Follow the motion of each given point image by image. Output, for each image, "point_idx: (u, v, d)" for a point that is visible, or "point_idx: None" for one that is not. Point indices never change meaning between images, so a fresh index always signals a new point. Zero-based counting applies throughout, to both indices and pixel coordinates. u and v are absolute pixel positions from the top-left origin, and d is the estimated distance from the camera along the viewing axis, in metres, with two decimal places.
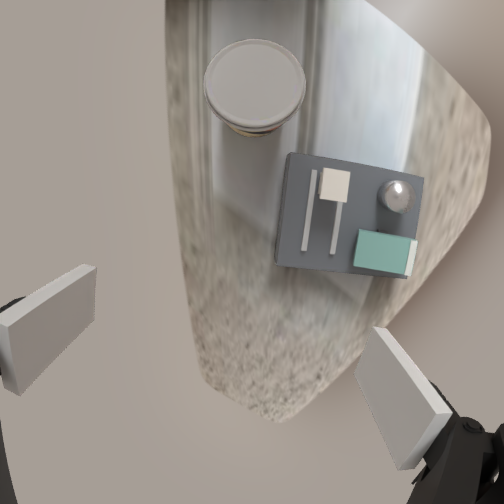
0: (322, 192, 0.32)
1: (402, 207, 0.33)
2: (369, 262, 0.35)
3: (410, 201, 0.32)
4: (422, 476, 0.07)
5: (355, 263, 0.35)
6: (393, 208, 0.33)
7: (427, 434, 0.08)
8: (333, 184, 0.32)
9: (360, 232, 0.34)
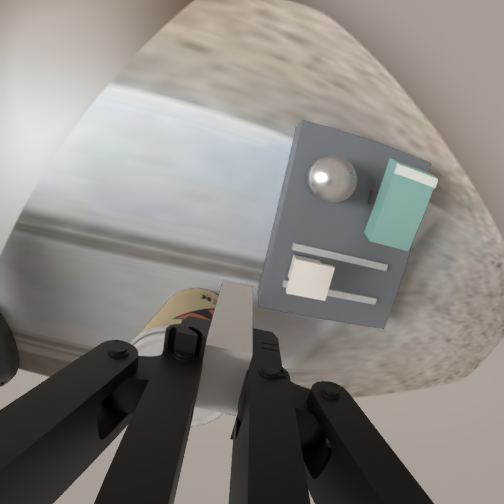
0: (317, 297, 0.25)
1: (349, 179, 0.24)
2: (409, 231, 0.25)
3: (342, 164, 0.23)
4: (236, 432, 0.09)
5: (406, 248, 0.26)
6: (349, 194, 0.24)
7: (228, 373, 0.10)
8: (309, 283, 0.25)
9: (371, 240, 0.26)
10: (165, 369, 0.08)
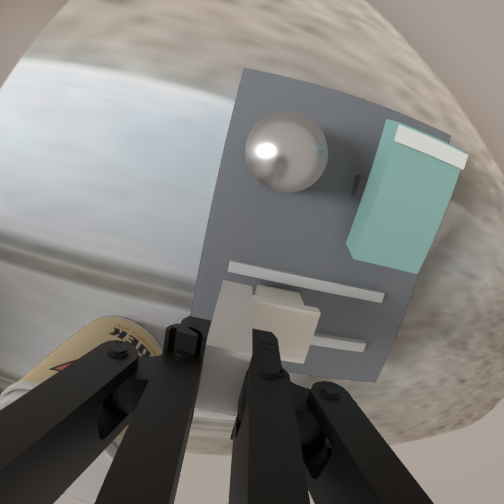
0: (291, 359, 0.15)
1: (313, 152, 0.13)
2: (420, 242, 0.15)
3: (300, 126, 0.13)
4: (236, 432, 0.09)
5: (414, 270, 0.16)
6: (314, 178, 0.14)
7: (228, 373, 0.10)
8: (277, 337, 0.15)
9: (357, 257, 0.15)
10: (165, 369, 0.08)
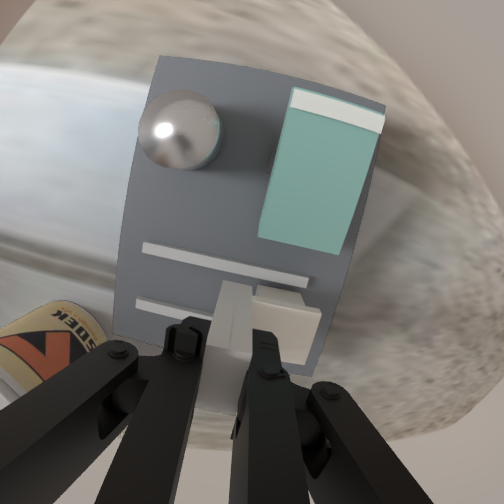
0: (292, 360, 0.15)
1: (203, 126, 0.13)
2: (337, 218, 0.14)
3: (190, 102, 0.13)
4: (236, 432, 0.09)
5: (334, 250, 0.15)
6: (204, 152, 0.13)
7: (228, 373, 0.10)
8: None
9: (262, 235, 0.15)
10: (165, 369, 0.08)
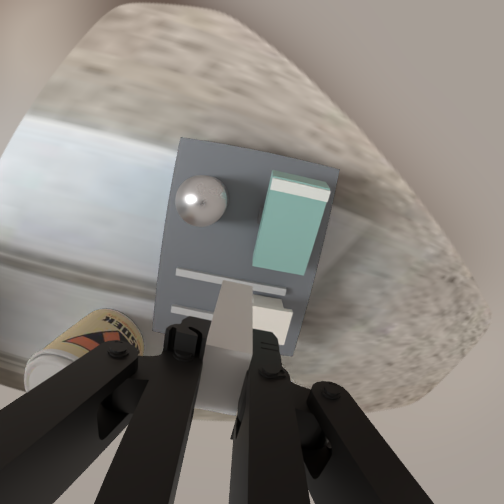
0: None
1: (216, 200, 0.22)
2: (301, 253, 0.24)
3: (208, 184, 0.22)
4: (236, 432, 0.09)
5: (300, 272, 0.24)
6: (218, 216, 0.22)
7: (228, 373, 0.10)
8: (266, 328, 0.24)
9: (254, 264, 0.24)
10: (165, 369, 0.08)
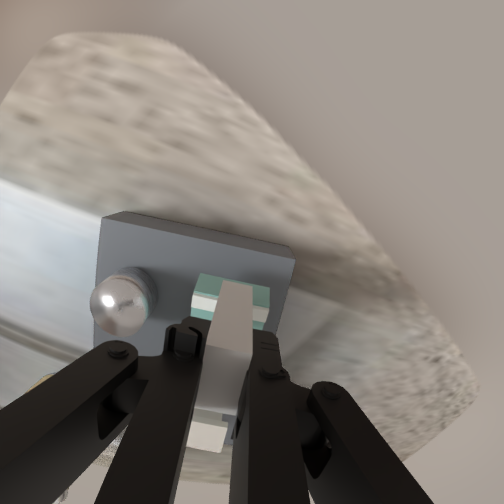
0: (211, 450, 0.19)
1: (133, 310, 0.18)
2: None
3: (122, 292, 0.17)
4: (236, 432, 0.09)
5: None
6: (136, 328, 0.18)
7: (228, 373, 0.10)
8: (199, 438, 0.19)
9: None
10: (165, 369, 0.08)
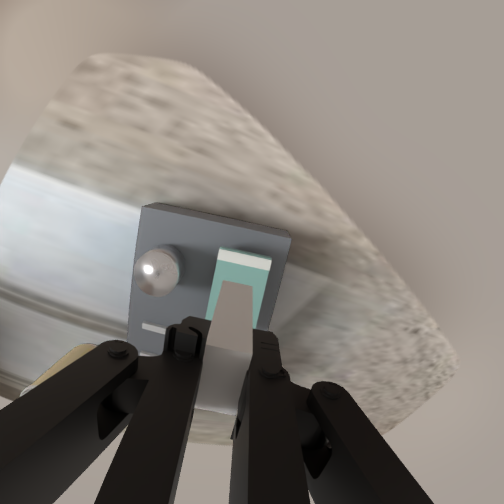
0: None
1: (169, 275, 0.24)
2: None
3: (160, 260, 0.24)
4: (236, 432, 0.09)
5: None
6: (170, 289, 0.25)
7: (228, 373, 0.10)
8: None
9: None
10: (165, 369, 0.08)
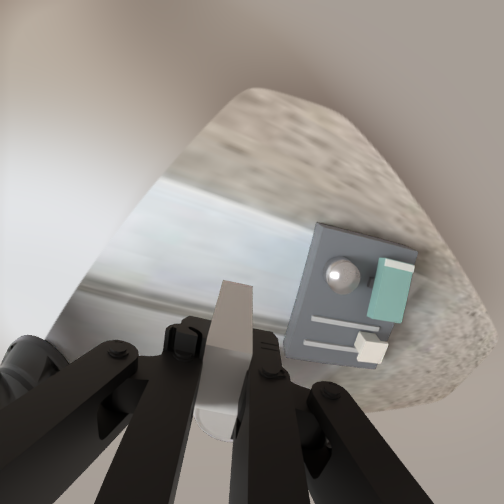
0: (376, 362, 0.36)
1: (354, 278, 0.34)
2: (400, 307, 0.34)
3: (350, 268, 0.34)
4: (236, 432, 0.09)
5: (399, 321, 0.34)
6: (354, 288, 0.34)
7: (228, 373, 0.10)
8: (372, 354, 0.35)
9: (374, 317, 0.34)
10: (165, 369, 0.08)
